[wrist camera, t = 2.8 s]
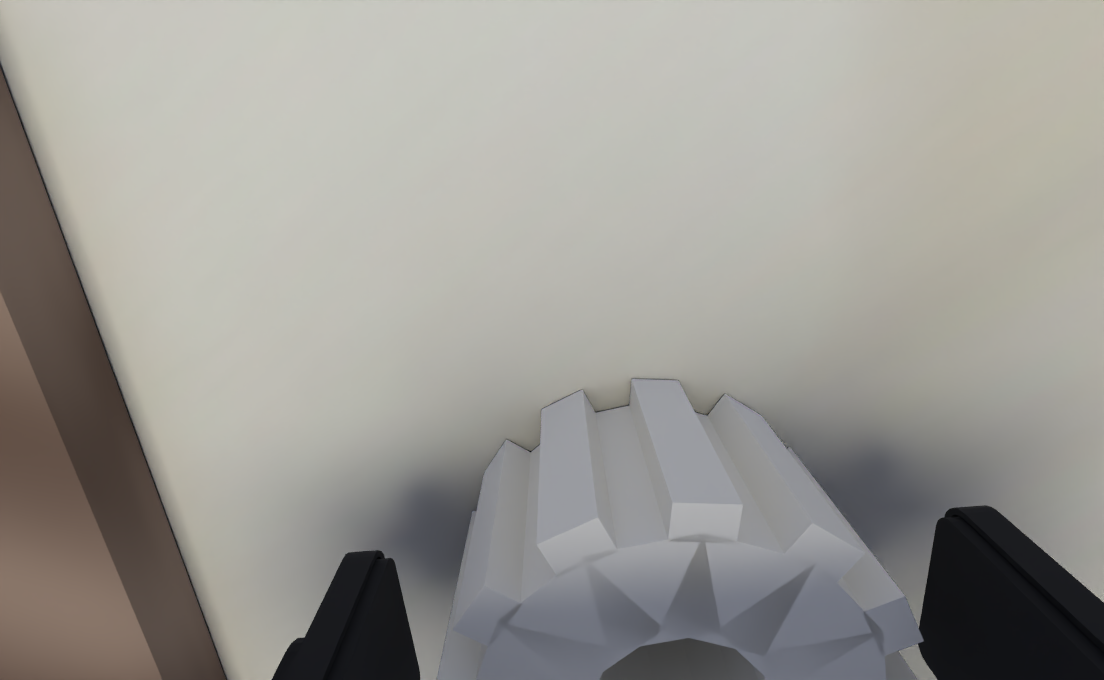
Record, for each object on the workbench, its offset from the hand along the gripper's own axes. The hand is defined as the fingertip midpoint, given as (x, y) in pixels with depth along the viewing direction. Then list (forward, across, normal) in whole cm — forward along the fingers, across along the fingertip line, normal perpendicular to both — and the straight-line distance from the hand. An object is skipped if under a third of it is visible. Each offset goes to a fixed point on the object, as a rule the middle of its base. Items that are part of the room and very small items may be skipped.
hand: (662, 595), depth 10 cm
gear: (+2, 0, 0) cm, 2 cm away
